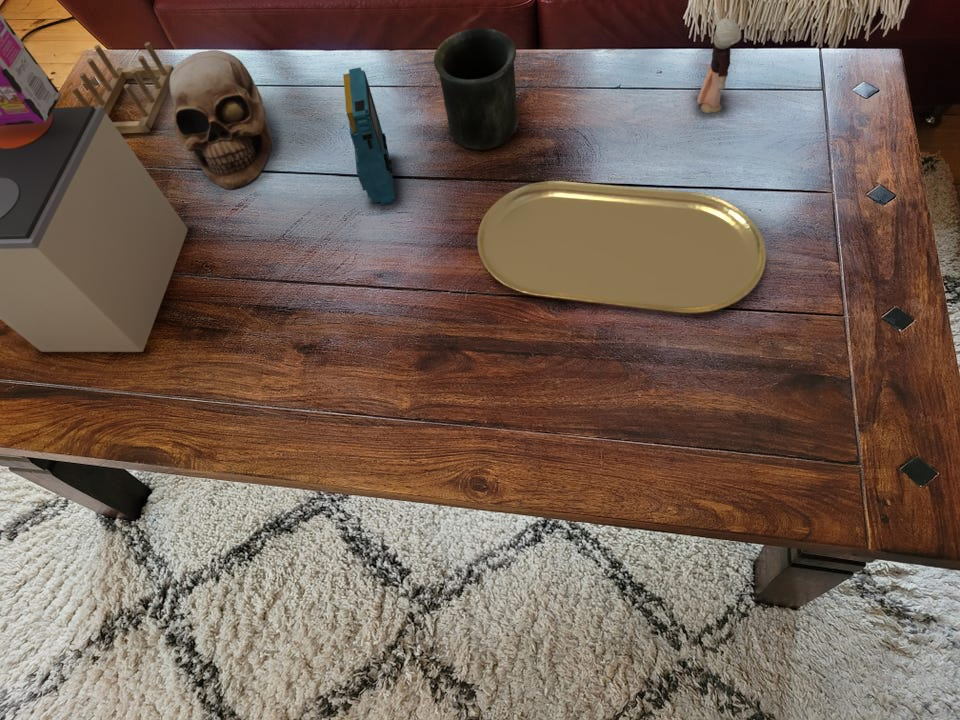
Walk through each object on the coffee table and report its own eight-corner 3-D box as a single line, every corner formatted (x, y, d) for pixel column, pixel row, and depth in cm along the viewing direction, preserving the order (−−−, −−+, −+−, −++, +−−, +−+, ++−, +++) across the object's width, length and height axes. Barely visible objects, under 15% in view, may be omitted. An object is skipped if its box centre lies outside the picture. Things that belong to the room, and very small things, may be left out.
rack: (92, 134, 109) (64, 98, 103) (122, 75, 116) (98, 38, 110) (149, 132, 107) (125, 95, 101) (176, 72, 115) (154, 34, 109)
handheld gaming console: (398, 204, 94) (371, 115, 81) (369, 210, 94) (337, 121, 81) (392, 155, 99) (366, 64, 86) (364, 160, 99) (334, 70, 86)
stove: (41, 352, 87) (-99, 241, 69) (96, 231, 97) (-14, 107, 79) (143, 352, 85) (27, 238, 67) (188, 229, 96) (98, 101, 77)
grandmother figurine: (690, 89, 99) (705, 6, 88) (717, 85, 99) (735, 1, 88) (702, 125, 95) (719, 42, 84) (730, 121, 95) (751, 38, 84)
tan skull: (235, 195, 98) (187, 114, 87) (167, 161, 106) (116, 83, 95) (312, 133, 104) (276, 49, 93) (243, 105, 112) (202, 26, 101)
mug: (442, 154, 98) (427, 82, 87) (455, 87, 105) (443, 13, 95) (517, 154, 96) (511, 81, 86) (526, 86, 103) (521, 11, 93)
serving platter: (761, 330, 77) (764, 322, 76) (463, 293, 85) (461, 286, 83) (764, 207, 86) (768, 198, 85) (495, 183, 94) (494, 175, 92)
